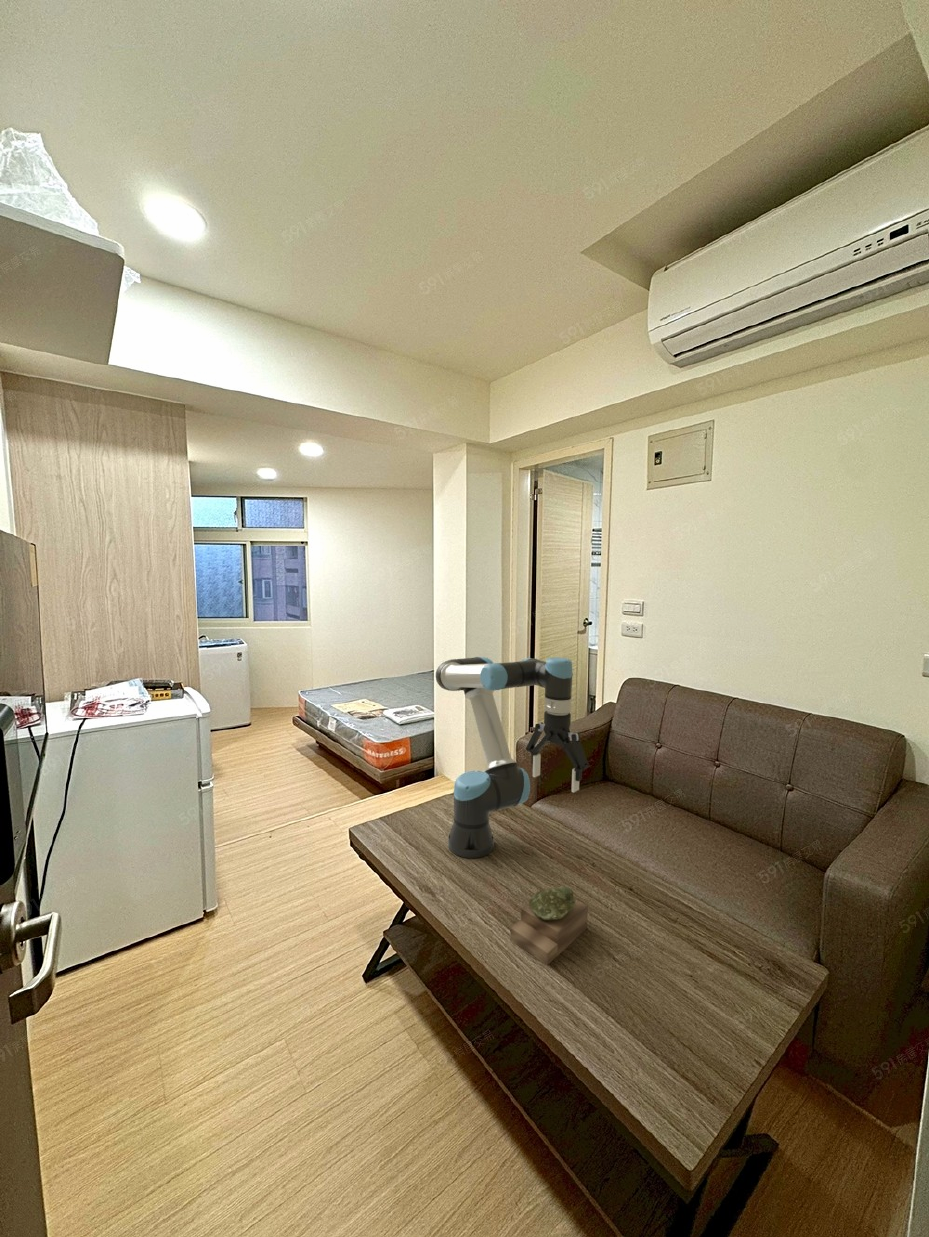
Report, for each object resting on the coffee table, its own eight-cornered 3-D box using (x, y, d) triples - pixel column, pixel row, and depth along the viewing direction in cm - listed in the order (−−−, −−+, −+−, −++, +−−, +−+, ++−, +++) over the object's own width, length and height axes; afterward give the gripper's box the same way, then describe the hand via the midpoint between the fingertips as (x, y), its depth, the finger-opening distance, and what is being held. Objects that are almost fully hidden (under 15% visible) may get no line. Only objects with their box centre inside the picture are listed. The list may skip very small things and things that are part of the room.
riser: (510, 939, 118) (510, 916, 117) (551, 906, 129) (551, 885, 129) (547, 965, 110) (547, 941, 109) (586, 928, 122) (587, 905, 121)
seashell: (521, 898, 121) (546, 866, 123) (533, 907, 125) (557, 875, 127) (548, 931, 113) (575, 895, 115) (561, 938, 117) (586, 904, 119)
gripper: (515, 705, 144) (513, 773, 146) (588, 724, 126) (585, 801, 128) (531, 700, 149) (529, 766, 151) (603, 719, 132) (600, 793, 134)
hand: (555, 783), depth 140 cm, fingers open, 13 cm apart
